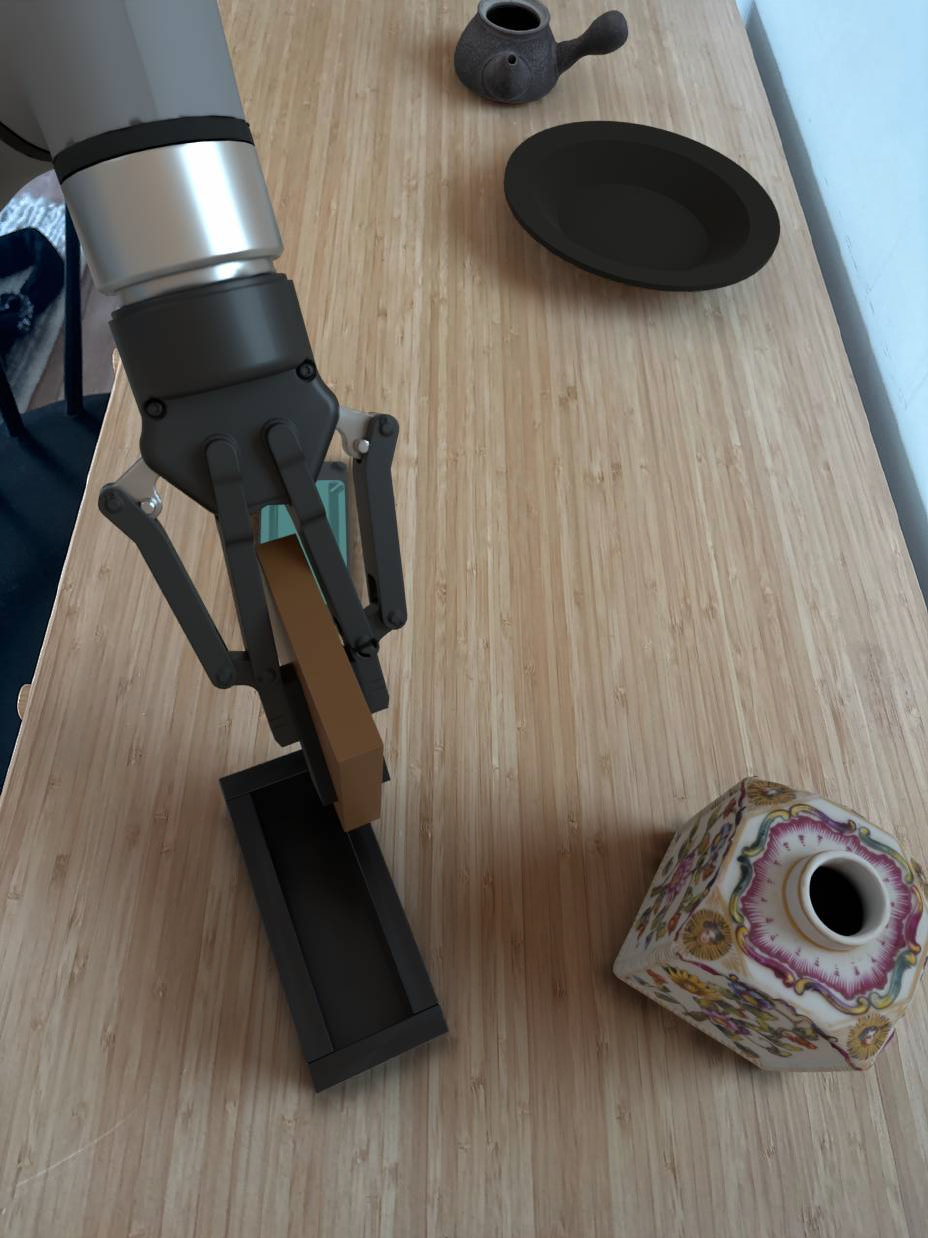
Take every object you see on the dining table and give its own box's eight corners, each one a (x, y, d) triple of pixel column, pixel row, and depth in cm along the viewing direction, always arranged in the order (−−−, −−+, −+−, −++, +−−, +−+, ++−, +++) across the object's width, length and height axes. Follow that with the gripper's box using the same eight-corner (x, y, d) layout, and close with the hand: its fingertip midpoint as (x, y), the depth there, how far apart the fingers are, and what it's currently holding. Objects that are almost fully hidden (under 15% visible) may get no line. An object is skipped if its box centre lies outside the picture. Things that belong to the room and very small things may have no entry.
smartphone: (347, 459, 73) (351, 616, 66) (347, 468, 74) (351, 623, 67) (257, 460, 72) (252, 619, 65) (259, 469, 73) (254, 626, 66)
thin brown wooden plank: (276, 654, 49) (253, 545, 39) (310, 642, 50) (295, 532, 40) (344, 833, 45) (338, 763, 35) (380, 818, 45) (384, 745, 35)
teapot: (446, 120, 98) (454, 26, 89) (456, 42, 105) (464, -52, 96) (610, 143, 99) (634, 52, 90) (609, 64, 106) (631, -27, 97)
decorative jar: (676, 825, 62) (781, 741, 46) (825, 913, 60) (988, 857, 45) (603, 978, 57) (694, 942, 41) (764, 1080, 55) (924, 1083, 39)
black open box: (237, 817, 60) (217, 778, 52) (341, 778, 62) (337, 735, 54) (323, 1091, 53) (316, 1094, 45) (437, 1037, 54) (449, 1031, 47)
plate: (470, 285, 86) (476, 237, 81) (526, 144, 97) (534, 94, 92) (744, 361, 85) (767, 317, 80) (768, 210, 96) (790, 163, 91)
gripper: (351, 258, 40) (462, 703, 48) (12, 332, 36) (195, 804, 44) (397, 235, 33) (517, 756, 42) (-13, 323, 29) (208, 881, 38)
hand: (351, 780), depth 43 cm, fingers closed on thin brown wooden plank, 2 cm apart
